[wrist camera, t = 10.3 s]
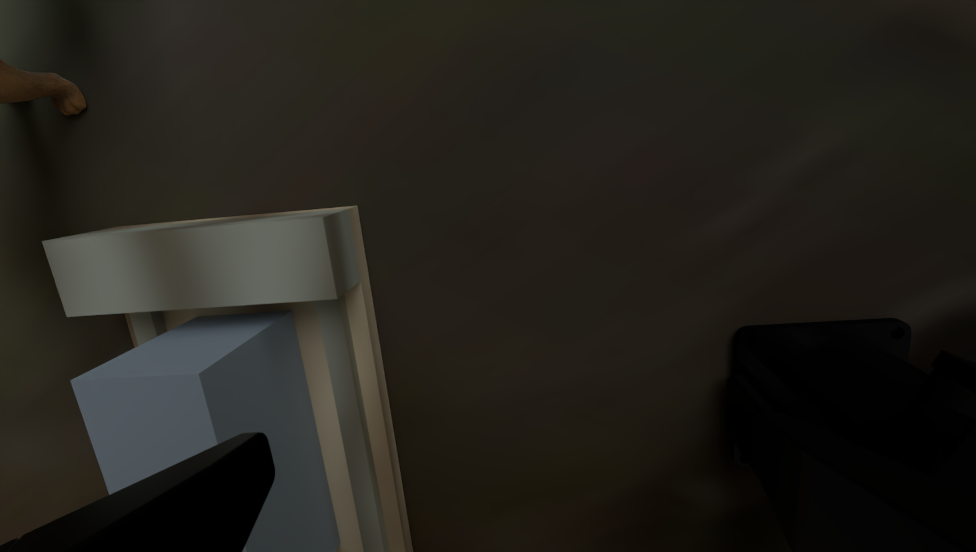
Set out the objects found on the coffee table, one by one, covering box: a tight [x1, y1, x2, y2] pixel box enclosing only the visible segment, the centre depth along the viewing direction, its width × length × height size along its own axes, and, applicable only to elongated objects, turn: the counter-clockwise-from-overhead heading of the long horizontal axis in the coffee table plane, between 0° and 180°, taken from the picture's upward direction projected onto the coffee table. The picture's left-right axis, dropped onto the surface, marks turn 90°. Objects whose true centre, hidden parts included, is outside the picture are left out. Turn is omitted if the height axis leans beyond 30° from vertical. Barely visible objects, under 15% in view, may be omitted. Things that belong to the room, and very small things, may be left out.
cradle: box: [42, 206, 413, 552], centre depth 22 cm, size 11×23×4 cm, turn 5°
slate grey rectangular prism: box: [71, 310, 340, 552], centre depth 20 cm, size 4×14×6 cm, turn 5°
